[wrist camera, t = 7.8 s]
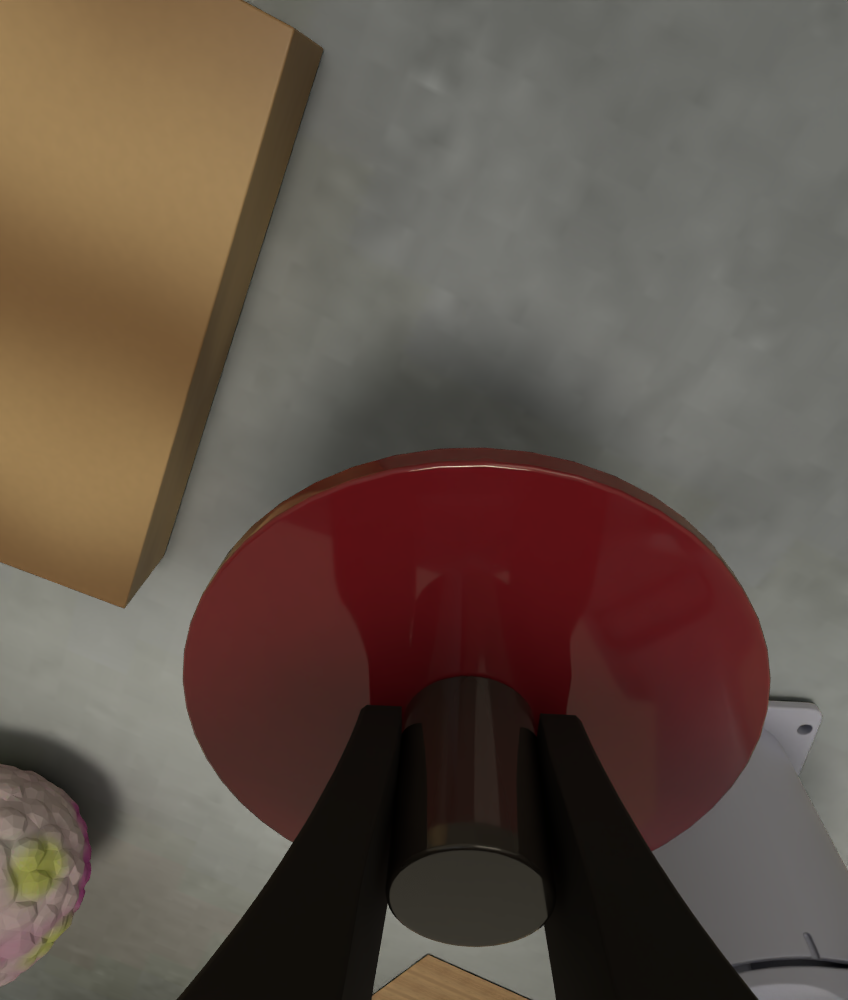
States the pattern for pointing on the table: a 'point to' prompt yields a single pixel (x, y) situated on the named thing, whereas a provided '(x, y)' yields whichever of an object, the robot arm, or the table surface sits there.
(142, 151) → the wooden block
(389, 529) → the lid
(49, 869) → the decorative item
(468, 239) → the table surface
